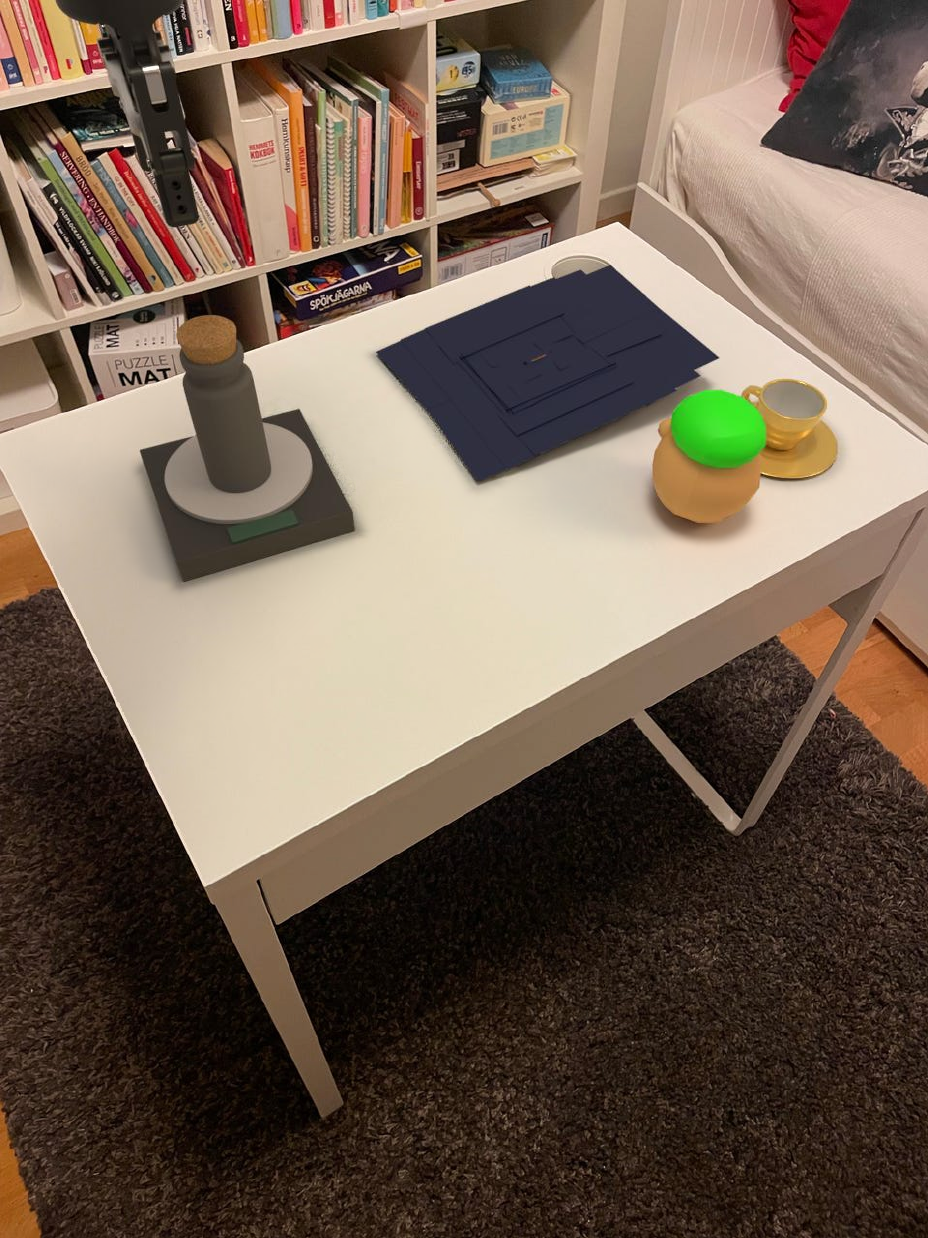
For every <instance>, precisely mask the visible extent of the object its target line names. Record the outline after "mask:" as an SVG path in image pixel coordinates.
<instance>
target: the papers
mask: <svg viewBox="0 0 928 1238" xmlns="http://www.w3.org/2000/svg"><path fill="white" fill-rule="evenodd" d="M375 353H376V354H377V355H378V357H379V358H380V359H381V360H382V361H383V363H385V365H387V367H388V368H389V369H390V370H391V371H392V373H393V374H394V375H395V376H396V377H397V378H398V380H400V382H401V383H402V384H403V385H404V386H405V387H406V388H407V389H408V391H409V392H410V393H411V394H412V395H413V396H414V397H415V399H416V400H417V401H418V402H419V403H420V404H421V405H422V407H424V408H425V410H426V411H427V412H428V414H429V416H431V418H432V419H433V421H434V422H435V424H436V425H437V426H438V428H439V429H440V431H441V432H442V433H443V436H445V438H446V439H447V441H448V442H449V443H450V445H451V447H452V448H453V449H454V451H455V452H456V453H457V455H458V456H459V458H460V459H461V461H462V462H463V464H464V465H465V466H466V468H467V469H468V470H469V472H470V474H471V475H472V476H473V478H474V479H475V480H476V482H480V481H483V480H485V479H487V478H490V477H492V476H495V475H497V474H500V473H502V472H504V471H509V470H511V469H512V468H515V467H517V466H519V465H521V464H524V463H526V462H528V461H530V460H531V459H534V458H537V457H538V456H540V455H541V454H543V453H545V452H548V451H549V450H551V449H554V448H556V447H559V446H560V445H562V444H565V443H566V442H569V441H572V440H574V439H576V438H578V437H580V436H582V435H584V434H587V433H588V432H591V431H593V430H595V429H597V428H599V427H603V425H606V424H609V423H610V422H612V421H615V420H617V419H619V418H621V417H623V416H626V415H628V414H631V413H632V412H634V411H636V410H638V409H641V408H643V407H647V406H649V405H651V404H654V403H655V402H657V401H659V400H662V399H663V398H665V397H667V396H669V395H672V394H673V393H676V392H677V391H678V390H677V388H679V387H681V386H683V385H686V384H688V383H690V382H692V381H694V380H696V379H697V378H701V377H702V375H701V374H700V373H698V372H697V371H696V370H698V369H700V368H702V367H704V366H706V365H708V364H710V363H712V362H714V361H717V360H718V359H720V356H718V355H717V354H716V353H715V352H714V351H712V350H711V349H710V348H708V347H707V346H706V345H705V344H704V343H702V341H700V340H699V339H698V338H697V337H695V336H694V335H693V334H692V333H690V331H688V330H687V329H686V328H685V327H683V326H682V325H681V324H680V323H679V322H677V321H676V320H675V319H674V318H672V317H671V316H670V315H669V314H668V313H666V312H665V311H664V310H663V309H661V307H659V306H658V305H657V304H656V303H655V302H653V301H652V300H651V299H650V298H649V297H648V296H647V295H646V294H644V293H643V292H642V291H641V290H640V289H639V288H638V287H637V286H635V285H634V284H633V283H632V282H631V281H630V280H629V279H628V278H627V277H625V275H623V274H622V273H621V272H620V271H619V270H617V268H615V267H614V266H613V265H612V264H608V265H606V266H603V267H601V268H598V269H596V270H594V271H591V272H589V273H585V272H584V271H583V270H582V269H578V270H575V271H572V272H570V273H568V274H564V275H561V276H560V277H557V278H556V277H555V276H553V277H550V278H548V279H545V280H543V281H540V282H537V283H535V284H532V285H530V284H529V285H527V286H524V287H521V288H519V289H517V290H514V291H512V292H510V293H507V294H505V295H503V296H500V297H498V298H495V299H492V300H490V301H487V302H485V303H482V304H480V305H477V306H475V307H473V308H471V309H468V310H465V311H463V312H461V313H458V314H456V315H453V316H451V317H449V318H446V319H444V320H441V321H438V322H436V323H434V324H431V325H429V326H427V327H424V329H421V330H419V331H417V332H415V333H412V334H410V335H407V336H405V337H403V338H401V339H400V340H399V341H397V342H395V343H392V344H389V345H387V346H385V347H384V348H380V349H379V350H377V351H375Z"/></svg>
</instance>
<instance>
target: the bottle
mask: <svg viewBox="0 0 928 1238" xmlns="http://www.w3.org/2000/svg"><path fill="white" fill-rule="evenodd" d="M175 336H176V340H177V342H178V344H179V346H180V350H179V361H180V365H181V367H182V369H183V370H184V371H185V373H184V374H183V377H182V388H183V393H184V396H185V399H186V403H187V407H188V410H189V415H190V418H191V422H192V425H193V429H194V432H195V435H196V436H197V439H198V443H199V446H200V450H201V453H202V457H203V461H204V464H205V468H206V471H207V474H208V477H209V480H210V482H211V483H212V484H213V485H214V486H215V487H216V488H217V489H220V490H222V491H225V492H229V493H242V492H247V491H251V490H253V489H255V488H258V487H259V486H261V485H262V484H263V483H264V482H266V480H267V479H268V478H269V476H270V473H271V462H270V457H269V452H268V447H267V442H266V437H265V432H264V427H263V422H262V418H263V417H262V412H261V407H260V403H259V399H258V398H259V397H258V394H257V389H256V384H255V379H254V375H253V372H252V370H251V368H250V366H249V365H247V363H245V362H244V361H245V353H244V349H243V345H242V343H241V341H240V340H239V339H237V326H236V325H235V323H234V322H233V321H232V320H230V319H229V318H227V317H224V316H223V315H222V316H220V315H215V314H208V315H207V314H206V315H199V316H195V317H193V318H190V319H188V320H185V322H183V323H182V324H180V325H179V327H178V328H177V329H176V335H175Z"/></svg>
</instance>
